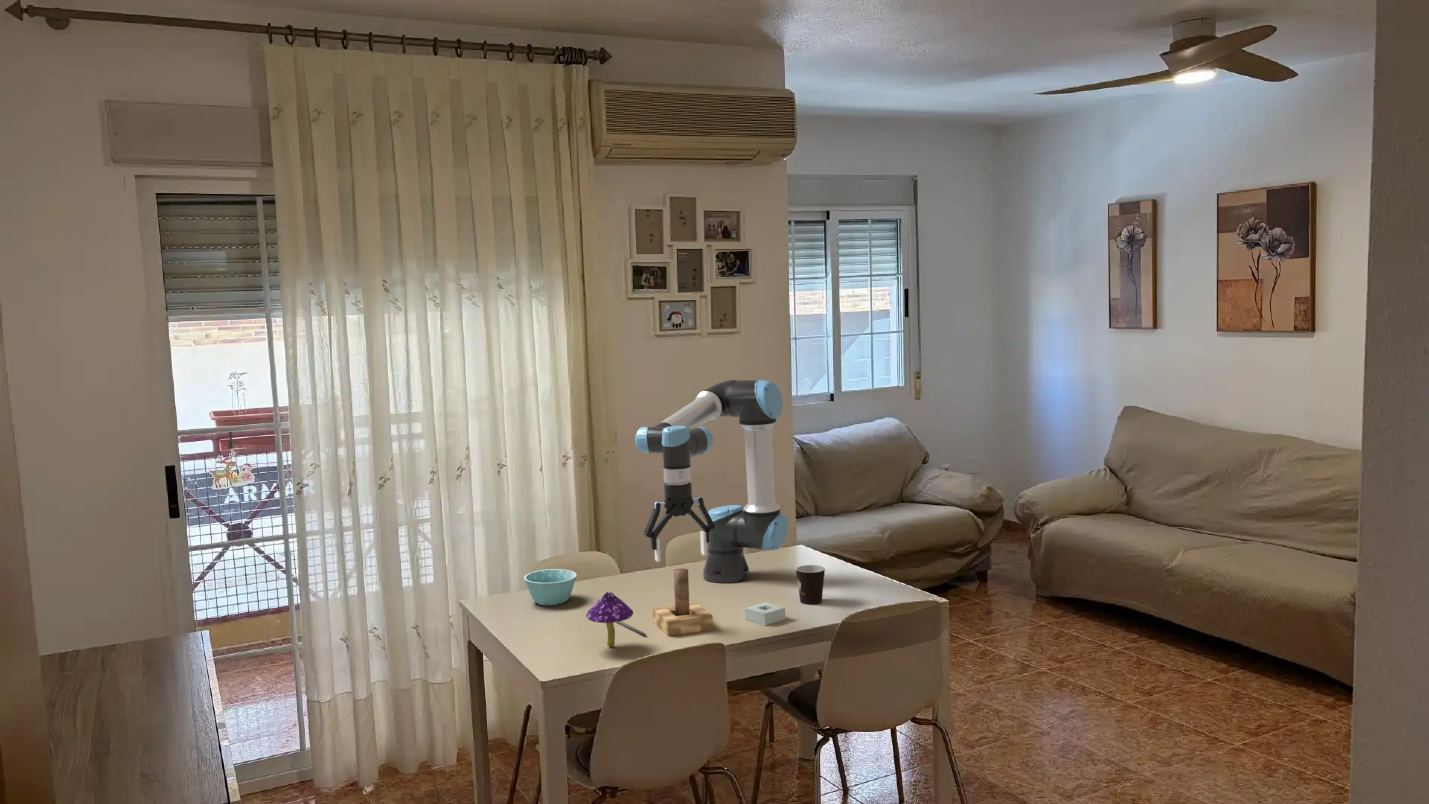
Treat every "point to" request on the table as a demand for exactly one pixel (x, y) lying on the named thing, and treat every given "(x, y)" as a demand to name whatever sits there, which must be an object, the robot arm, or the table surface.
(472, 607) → the table surface
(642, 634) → the dark grey rod
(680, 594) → the brown wooden bar
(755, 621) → the grey square socket block
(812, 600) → the coffee mug
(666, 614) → the wooden square socket block
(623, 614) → the decorative mushroom
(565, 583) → the bowl
